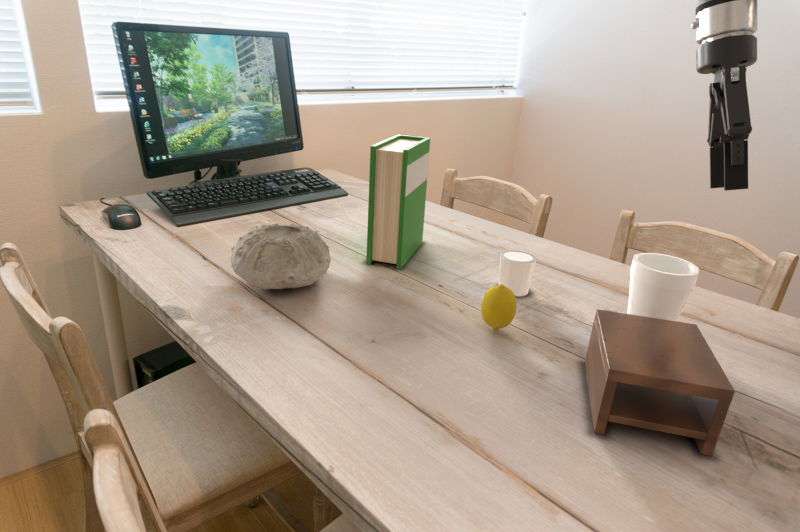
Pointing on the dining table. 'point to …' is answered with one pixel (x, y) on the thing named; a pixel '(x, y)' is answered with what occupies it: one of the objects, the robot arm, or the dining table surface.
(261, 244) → the decorative shell
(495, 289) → the lemon
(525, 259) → the white jar candle
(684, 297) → the foam cup
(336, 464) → the dining table surface
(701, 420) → the shelf
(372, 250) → the hardback book
